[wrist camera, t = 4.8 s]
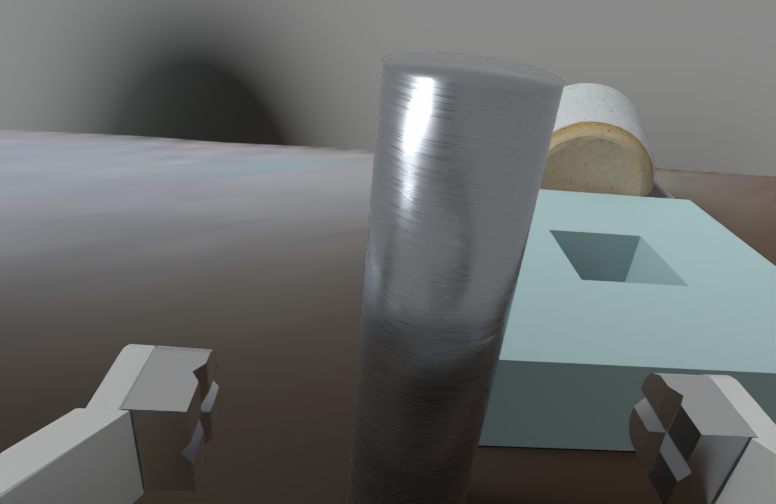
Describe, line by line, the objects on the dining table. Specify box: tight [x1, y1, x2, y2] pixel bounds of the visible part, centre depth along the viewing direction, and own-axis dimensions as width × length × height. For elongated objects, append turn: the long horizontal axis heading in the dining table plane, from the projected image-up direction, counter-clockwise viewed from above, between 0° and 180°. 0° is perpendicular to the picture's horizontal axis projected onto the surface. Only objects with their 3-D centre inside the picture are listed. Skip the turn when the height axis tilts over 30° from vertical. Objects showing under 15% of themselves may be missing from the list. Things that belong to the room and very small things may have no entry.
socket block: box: [479, 189, 776, 451], centre depth 23 cm, size 14×14×4 cm
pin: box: [346, 52, 565, 504], centre depth 12 cm, size 3×3×12 cm
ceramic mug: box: [540, 83, 675, 199], centre depth 33 cm, size 11×8×8 cm
